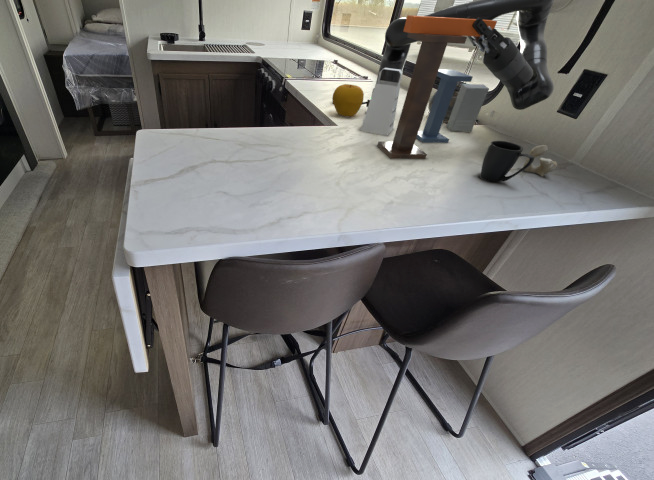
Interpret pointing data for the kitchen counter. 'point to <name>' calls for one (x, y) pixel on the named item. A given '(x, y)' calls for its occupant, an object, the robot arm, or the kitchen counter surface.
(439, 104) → the lower shelf
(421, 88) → the tall stand
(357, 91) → the apple
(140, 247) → the kitchen counter surface
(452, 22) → the orange wooden plank
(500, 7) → the robot arm
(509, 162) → the mug
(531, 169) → the bone
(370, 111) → the grater
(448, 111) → the bowl
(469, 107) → the cosmetic box
